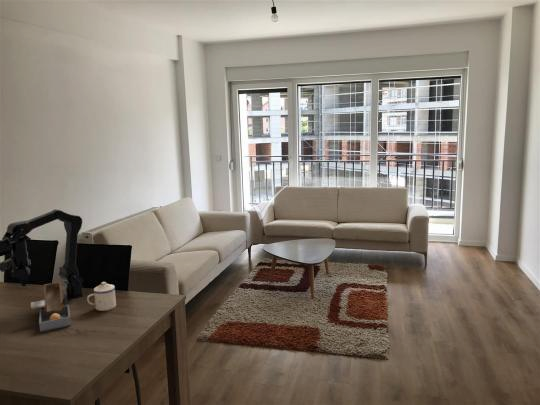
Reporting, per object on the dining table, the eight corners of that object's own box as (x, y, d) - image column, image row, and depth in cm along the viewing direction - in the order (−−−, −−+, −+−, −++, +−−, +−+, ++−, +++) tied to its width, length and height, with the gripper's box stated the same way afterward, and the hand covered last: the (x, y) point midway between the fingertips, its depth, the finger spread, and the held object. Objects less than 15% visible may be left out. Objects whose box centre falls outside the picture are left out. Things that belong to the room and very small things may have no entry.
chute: (63, 292, 196) (62, 281, 194) (65, 313, 181) (64, 302, 179) (32, 297, 190) (31, 286, 188) (32, 320, 176) (30, 308, 174)
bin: (69, 313, 186) (68, 304, 185) (71, 325, 173) (70, 316, 173) (40, 318, 181) (39, 310, 180) (40, 332, 168) (39, 323, 168)
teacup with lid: (115, 301, 197) (112, 277, 195) (118, 308, 189) (115, 283, 187) (87, 307, 192) (84, 282, 190) (89, 314, 184) (86, 288, 182)
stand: (68, 307, 192) (67, 292, 191) (69, 311, 187) (67, 296, 186) (41, 312, 187) (39, 297, 186) (41, 317, 182) (39, 301, 181)
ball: (60, 317, 178) (59, 310, 177) (61, 324, 175) (60, 316, 174) (50, 320, 177) (48, 312, 175) (50, 326, 173) (49, 318, 172)
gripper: (-1, 249, 188) (4, 283, 191) (-5, 260, 172) (0, 296, 175) (28, 246, 193) (32, 278, 196) (26, 256, 177) (31, 291, 179)
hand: (24, 286), depth 186 cm, fingers closed
